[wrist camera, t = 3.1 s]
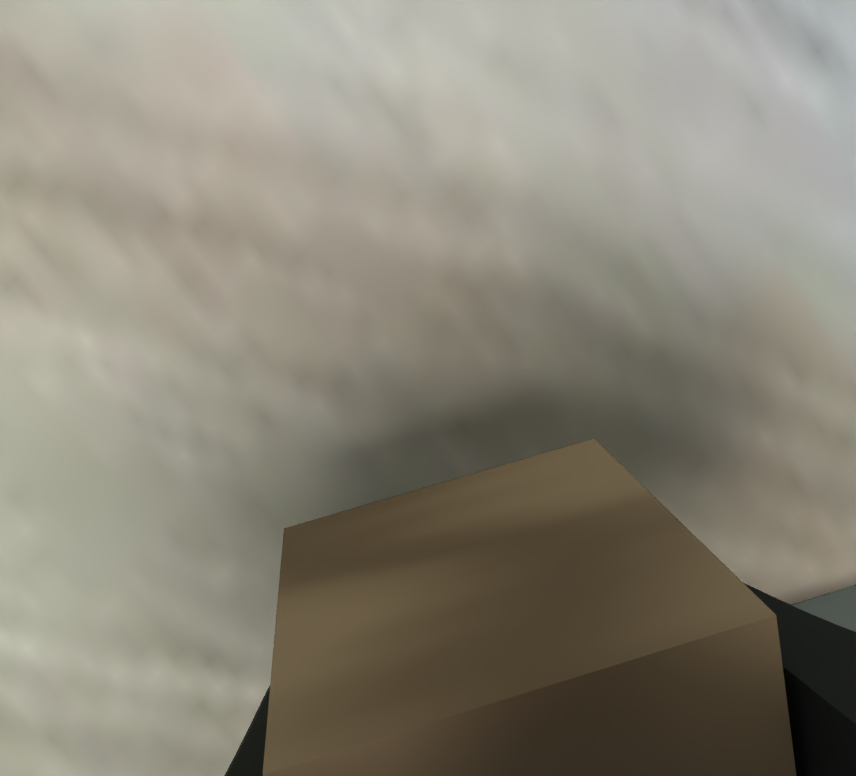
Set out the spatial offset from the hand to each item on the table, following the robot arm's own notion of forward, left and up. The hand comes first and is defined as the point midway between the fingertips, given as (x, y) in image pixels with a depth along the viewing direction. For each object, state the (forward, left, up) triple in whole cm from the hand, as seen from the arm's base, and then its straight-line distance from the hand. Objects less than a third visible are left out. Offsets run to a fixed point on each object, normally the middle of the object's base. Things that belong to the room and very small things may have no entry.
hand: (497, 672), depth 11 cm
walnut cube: (0, 0, -1) cm, 1 cm away
